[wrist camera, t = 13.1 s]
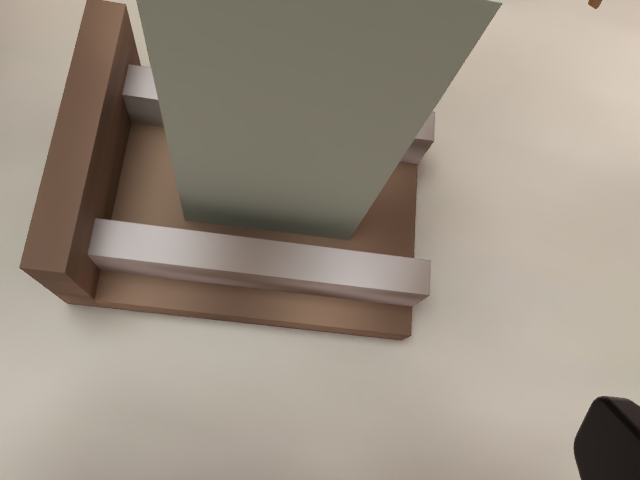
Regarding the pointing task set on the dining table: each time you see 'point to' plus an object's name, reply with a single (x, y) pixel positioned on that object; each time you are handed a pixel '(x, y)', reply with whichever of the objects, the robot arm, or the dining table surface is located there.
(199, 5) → the pale green rectangular box
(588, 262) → the dining table surface
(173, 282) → the cabinet base
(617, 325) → the dining table surface
